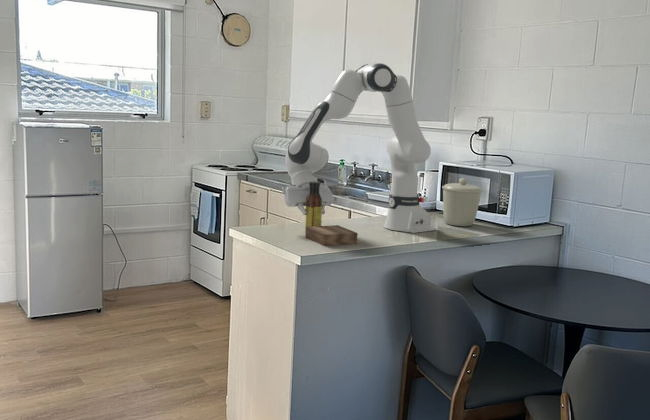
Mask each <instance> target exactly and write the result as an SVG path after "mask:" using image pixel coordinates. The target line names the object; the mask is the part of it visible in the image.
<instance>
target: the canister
mask: <svg viewBox="0 0 650 420" xmlns="http://www.w3.org/2000/svg"><path fill="white" fill-rule="evenodd" d="M458 181H459V182H457V183H456V182H455V183H452V182H451V183H447V184H446V183H445V184H444V185H442V186H441V188H442V209H443V210H442V212H443V213H442V215H443V216H442V217H443V221H444V223H446V224H447V225H451V226H453V227H470V226H472V225H474V223H475V221H476V217H477V213H478V210H479V205H480V200H481V196H482V193H483V192H484V190H483V189H481V187H479V186H476V185H473V184H468V179H466V178H464V177H462V178H459V180H458Z"/></svg>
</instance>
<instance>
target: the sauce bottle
mask: <svg viewBox="0 0 650 420" xmlns="http://www.w3.org/2000/svg"><path fill="white" fill-rule="evenodd" d="M309 185H310V191H309V195H308V196H307V198H306V206H305V209H307V210H308V214H307V215H305V221H304V222H305V223H304V225H305V226H304V228H305V231H306V227H310V226H322V221H323V220H322V218H323V217H322V215H323V214H322V198H321V196H320V194H319V186H320V182H317V181H310V183H309Z"/></svg>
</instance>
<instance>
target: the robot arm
mask: <svg viewBox="0 0 650 420" xmlns="http://www.w3.org/2000/svg"><path fill="white" fill-rule="evenodd" d="M364 91H367V92H372V93H376V92H380V93H381V94H382V96H383V99H384V105H385V109H386V113H387V119H388V123H389V126H390V128H391V129H392V131H393V132H394V135H393V136H391V137H390V138H389V140H388V141H387V142H386V151H387V153H388V156H389V161H390V168H391V186H390V193H389V194H388V195H389V196H388V211H387V216H386V219H385V221H384V224H383V228H385V229H387V230H393V231H396V232H405V233H411V234H415V233H424V232H432V231H436V230H437V228H436V227H435V226H434V225H432V223H431V221H432V218H431V215H430V214H429V212H428V211H426V210H425V209H424V207H422V206H421V205H420V203H424V201H425V197H419V196H418V190H419V189H418V188H419V181H420V179H419V176H418V173H417V170H416V165H418V164H423V163H425V162H426V161H428V160H429V158H430V156H431V151H432V150H431V145H430V144H429V142H428V141H427V139H425V137H424V134H423V131H422V130H421V127H420V124H419V122H418V119H417V115H416V111H415V106H414V101H413V100H414V99H413V95H412V90H411V88H410V86H409V83H408V80H407V79H406V77H405V76H403V75H399V74H395V72H394V71H393V70H392V69H391V67H390V66H388V65H387V64H385V63H381V62H380V63H377V62H372V63H367V64H364V65H361V66H360V67H359V68H358V69H357V70H353V69H344V70H343V71H342V72H341V73H340V74H339V76H338V77H337V78H336V80H335V81H334V83H333V85H332V86H331V88H330V91H329V93H328V95H327V96H326V97H325V99H323V101H319V102H318V104H316V105H315V106H314V109H312V112H311V113H310V115H309V116H308V117H307V119H306V120H305V122H304V123H303V125H302V127H301V129H300V130H299V132H298V133H297V134H296V135H295V136H294V138H293V139H292V140H291V141H290V142H289V145H288V147H287V152H286V154H285V158H284V160H285V161H284V162H285V163H284V164H285V168H286V171H287V173H288V175H289V177H290V179H291V184H284V185H283V186H282V187H281V191H282V194H283V196H284V197H283V199H284V203H285V205H286V206H287V207H288V208H289V207H293V208H294V207H297V209H298V210H299V211H300V212H301V213H302V215H303V216H306V215H307V214H308V210H307V209H306V198H307V196H308V195H309V191H310V185H309V183H310V181H317V182H320V186H319V194H320V196H321V198H322V215H325V214H326V210H325V209H326V207H325V206H327V207H330V206H331V205H332V204H333V202H334V201H335V200H334V195H333V193H332V191H331V189H330V188H329V186H328V185H327V183H328V182H327V181H326V179H324V178H320V177H317V176H314V175H313V174H315V173H317V172H319V171H321V170H322V169H324V168H325V167H326V166H327V165H328V162H329V152H328V150H327V149H326V148H324V147H323V146H321V145H319V144H316V143H314V142H313V139H314V137H315V136H316V134H317V133H318V131H319V130H320V128H321V126H322V125H323V124H324V123H326V122H327V121H331V120H341V119H344V118H347V117H348V116H349V115H350V113H351V112H352V111H353V109H354V107H355V105H356V103H357V101H358V98H359V96H360V95H361V94H362V92H364Z"/></svg>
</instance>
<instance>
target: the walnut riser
mask: <svg viewBox="0 0 650 420" xmlns="http://www.w3.org/2000/svg"><path fill="white" fill-rule="evenodd" d="M304 235H305V238H307V239H309V240H310V241H313V242H315V243H317V244H319V245H322V246H323V247H325V246H339V245H340V246H342V245H356V244H358V236H359V235H358V232H356V231H354V230H351V229H348V228H346V227H343V226H341V225H338V224H336V225H321V226H310V227H306V230H305V234H304Z"/></svg>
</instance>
